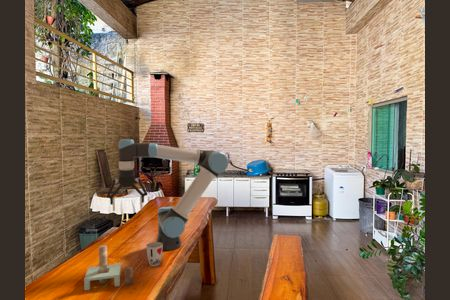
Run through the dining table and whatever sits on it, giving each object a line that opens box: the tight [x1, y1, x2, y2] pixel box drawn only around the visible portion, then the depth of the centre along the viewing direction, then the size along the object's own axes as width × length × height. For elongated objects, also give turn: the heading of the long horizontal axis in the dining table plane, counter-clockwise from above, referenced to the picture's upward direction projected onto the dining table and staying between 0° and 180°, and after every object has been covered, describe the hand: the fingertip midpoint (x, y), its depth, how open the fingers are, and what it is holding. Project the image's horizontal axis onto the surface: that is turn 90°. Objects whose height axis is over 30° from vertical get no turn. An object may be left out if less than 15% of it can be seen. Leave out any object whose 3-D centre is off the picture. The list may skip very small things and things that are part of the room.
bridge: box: [83, 263, 122, 291], centre depth 138 cm, size 14×12×5 cm
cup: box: [146, 241, 163, 267], centre depth 156 cm, size 8×8×10 cm
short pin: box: [124, 266, 134, 286], centre depth 136 cm, size 3×3×7 cm
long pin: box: [98, 244, 108, 284], centre depth 137 cm, size 3×3×16 cm
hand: (127, 209), depth 160 cm, fingers open, 13 cm apart
